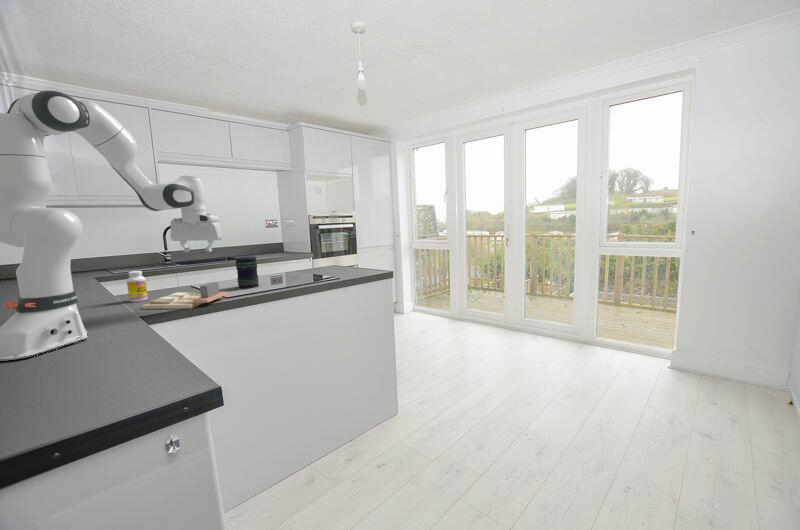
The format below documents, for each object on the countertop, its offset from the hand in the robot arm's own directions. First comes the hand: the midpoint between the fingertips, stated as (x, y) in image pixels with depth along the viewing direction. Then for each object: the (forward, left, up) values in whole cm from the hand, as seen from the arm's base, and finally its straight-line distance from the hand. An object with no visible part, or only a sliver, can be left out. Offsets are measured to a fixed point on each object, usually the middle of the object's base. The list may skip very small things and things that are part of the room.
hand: (198, 251), depth 143 cm
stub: (+1, -3, -20) cm, 20 cm away
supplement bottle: (+6, +34, -22) cm, 41 cm away
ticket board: (+1, +10, -22) cm, 24 cm away
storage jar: (+32, -3, -22) cm, 39 cm away
